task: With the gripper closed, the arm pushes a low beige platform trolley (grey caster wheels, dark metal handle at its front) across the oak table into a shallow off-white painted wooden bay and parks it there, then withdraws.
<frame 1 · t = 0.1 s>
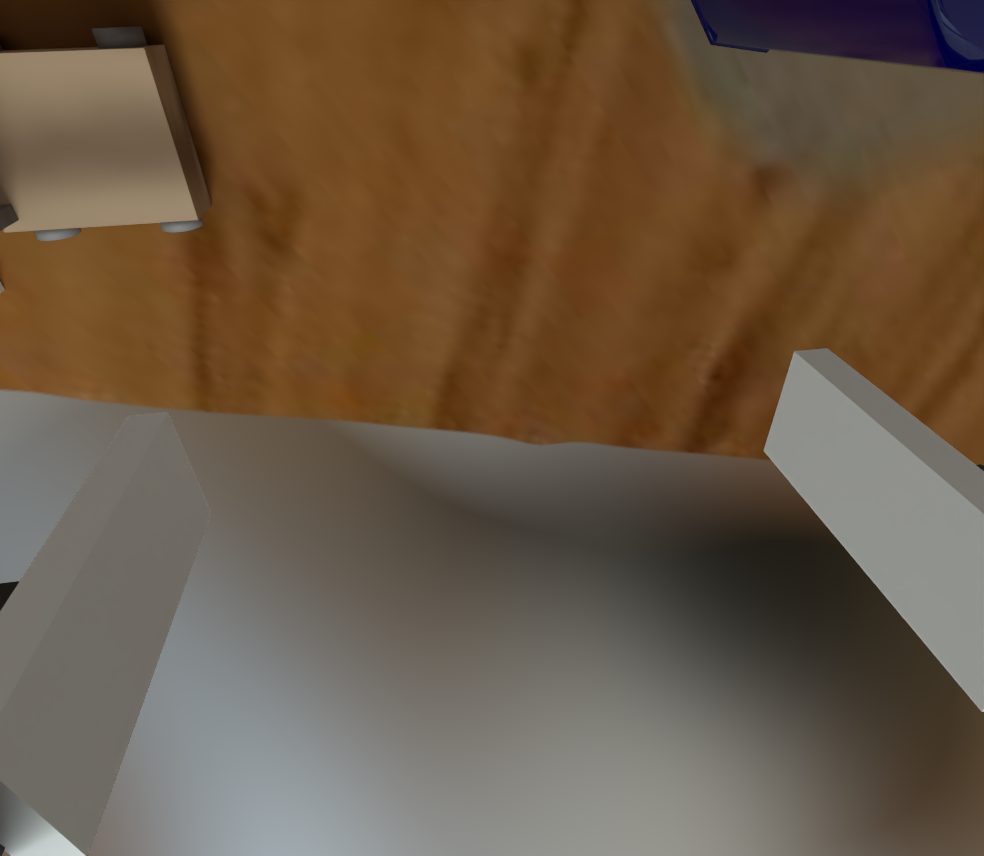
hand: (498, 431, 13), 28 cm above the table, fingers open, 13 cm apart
trolley: (95, 134, 32), on the table
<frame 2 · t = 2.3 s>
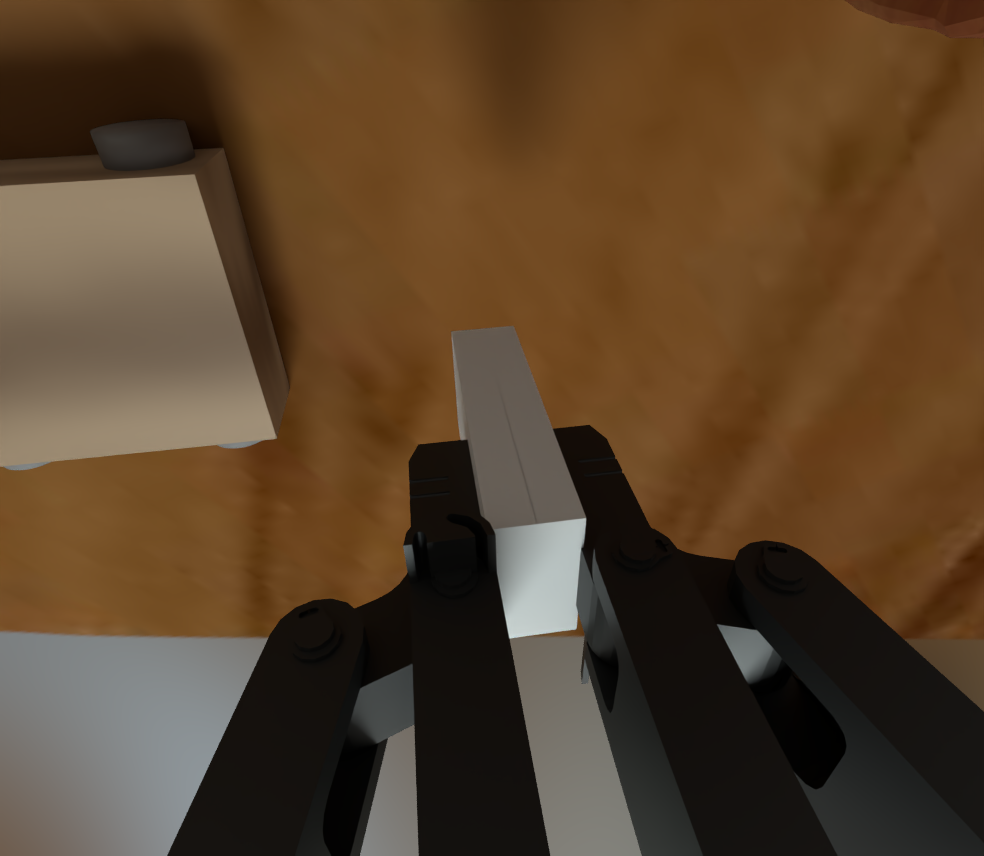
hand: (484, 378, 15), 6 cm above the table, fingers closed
trolley: (99, 293, 18), on the table
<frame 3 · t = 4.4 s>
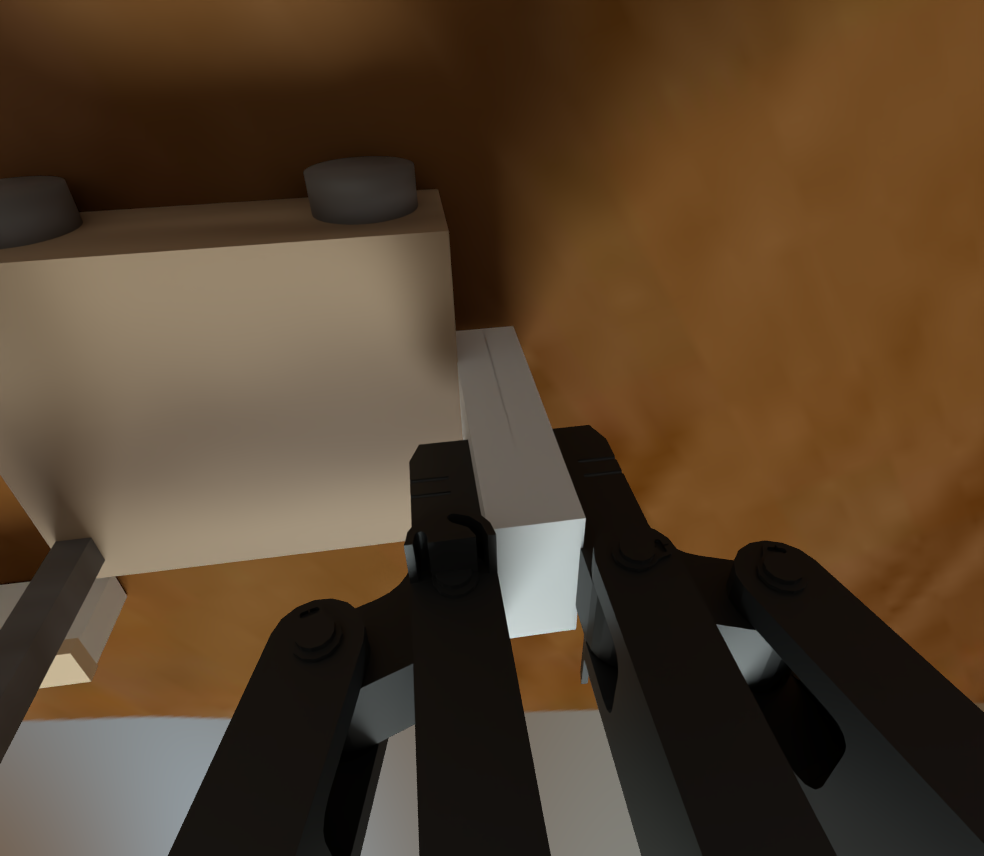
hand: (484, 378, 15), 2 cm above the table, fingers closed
trolley: (259, 360, 15), on the table, touching gripper
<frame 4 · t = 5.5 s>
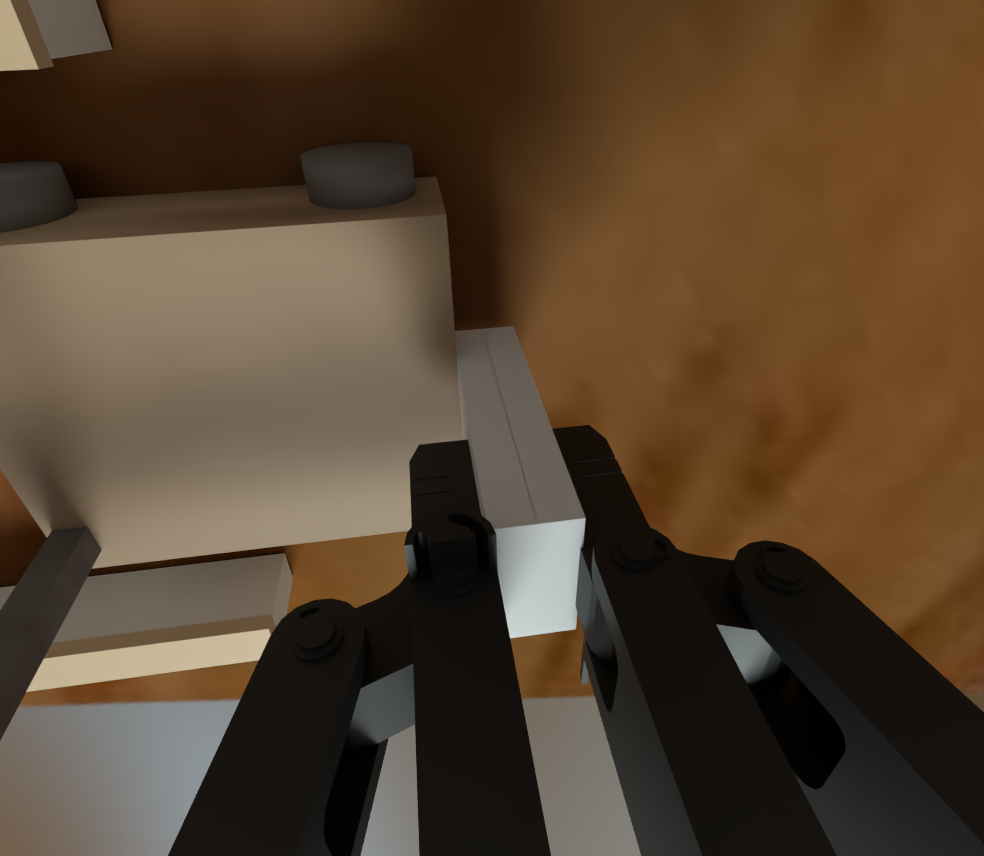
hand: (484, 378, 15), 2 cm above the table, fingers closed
trolley: (257, 349, 15), on the table
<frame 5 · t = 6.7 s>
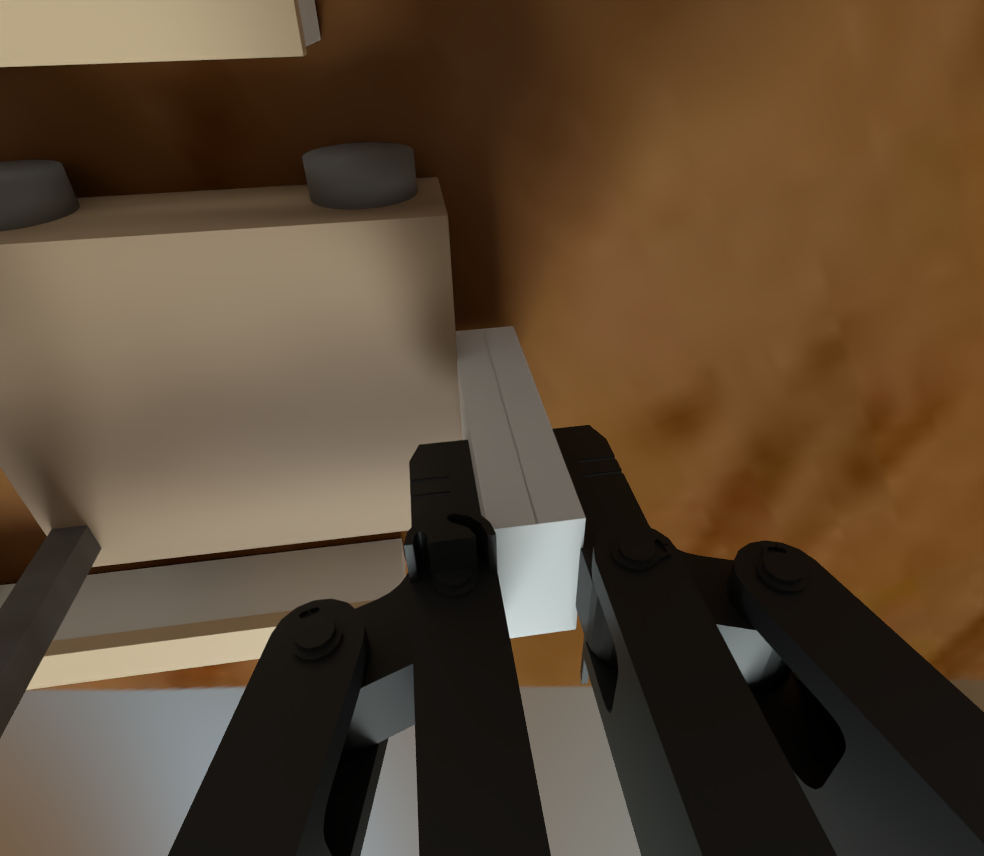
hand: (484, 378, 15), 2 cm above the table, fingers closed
bay: (114, 376, 15), on the table
trolley: (257, 349, 15), on the table, touching gripper
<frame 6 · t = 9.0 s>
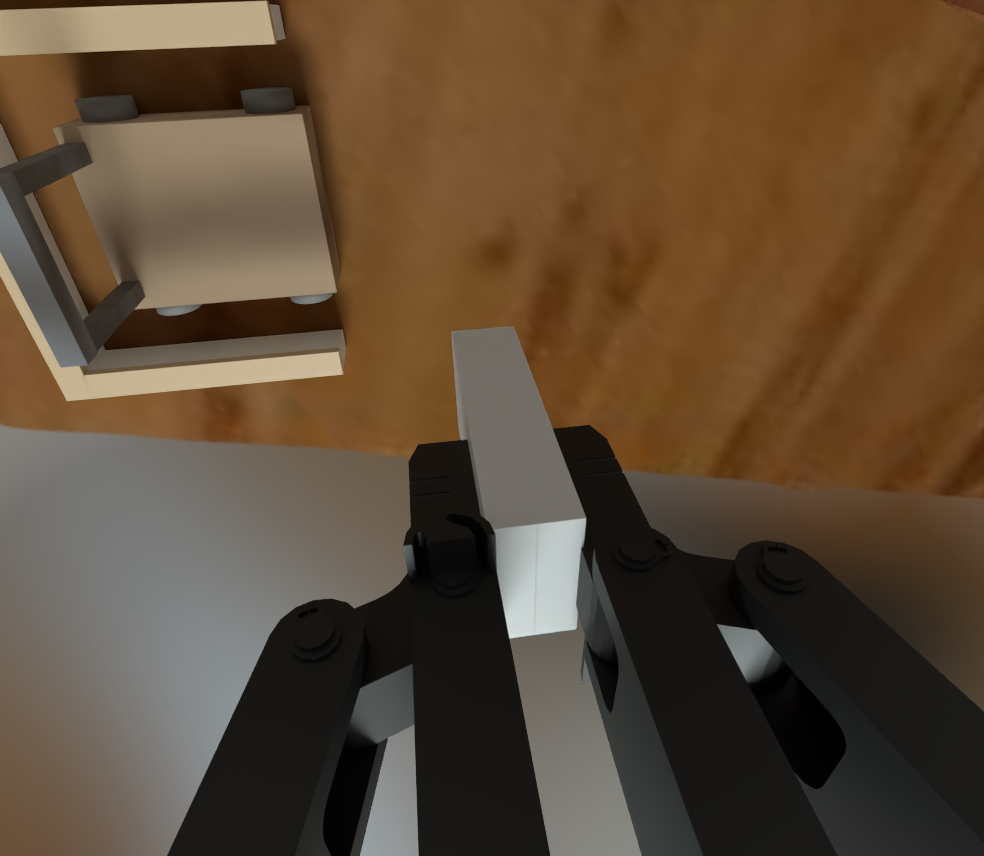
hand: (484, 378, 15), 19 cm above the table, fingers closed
bay: (185, 212, 29), on the table
trolley: (225, 200, 29), on the table
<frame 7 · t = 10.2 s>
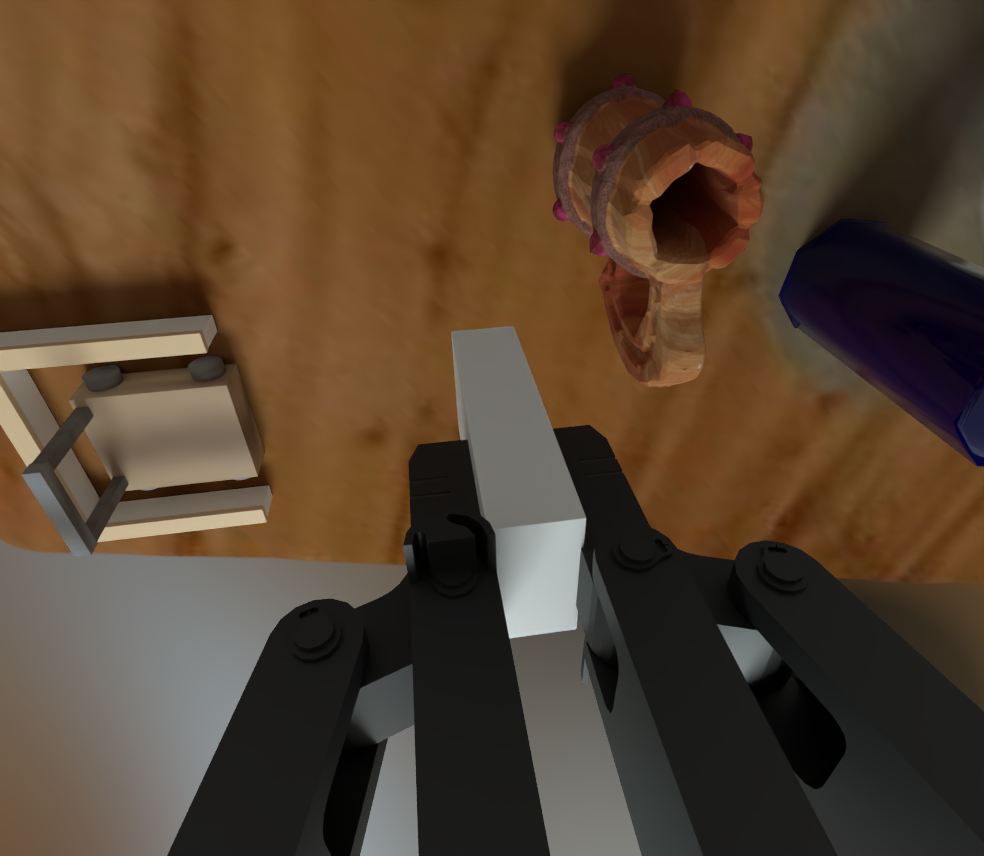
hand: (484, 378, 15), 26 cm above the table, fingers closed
bottle: (836, 276, 45), on the table
bay: (155, 424, 44), on the table
trolley: (182, 415, 44), on the table
mug: (600, 197, 39), on the table
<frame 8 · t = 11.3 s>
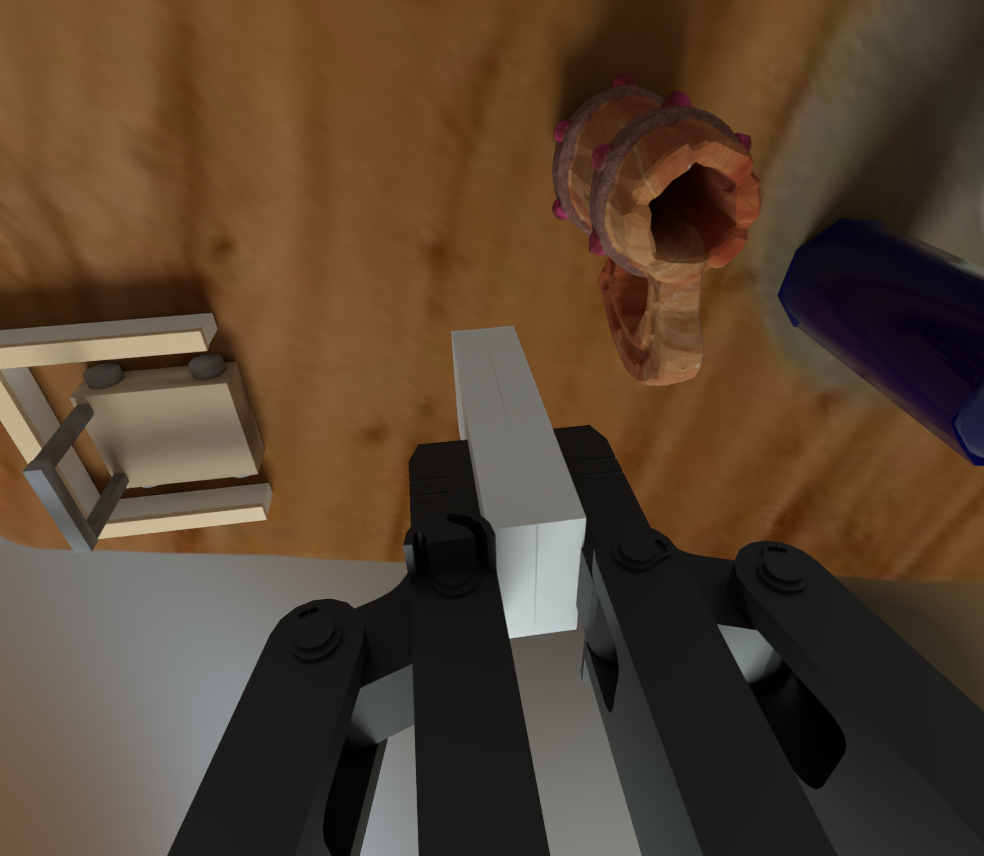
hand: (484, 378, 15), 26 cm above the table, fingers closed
bottle: (835, 275, 45), on the table
bay: (156, 421, 44), on the table
trolley: (183, 413, 44), on the table
mug: (600, 196, 39), on the table
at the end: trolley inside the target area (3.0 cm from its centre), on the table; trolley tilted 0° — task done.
